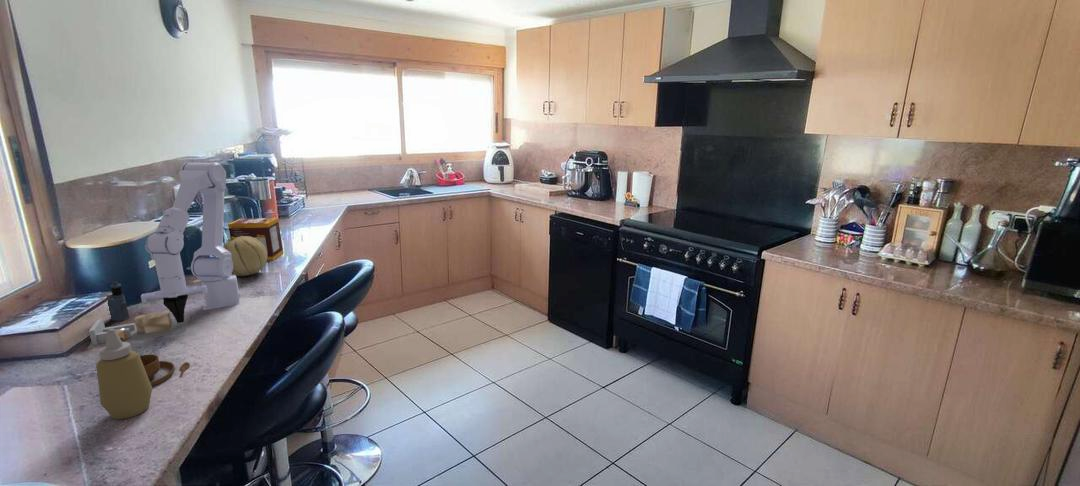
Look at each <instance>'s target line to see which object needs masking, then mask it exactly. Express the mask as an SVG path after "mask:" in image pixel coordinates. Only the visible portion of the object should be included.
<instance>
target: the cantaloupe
mask: <svg viewBox="0 0 1080 486" xmlns="http://www.w3.org/2000/svg"><path fill="white" fill-rule="evenodd" d="M229 239H230V240H228V241H226V242H225V243H224V244H223V248H225V249H226V250H227V251H229V252H230V253H231V258H232V262H233V271H232V273H231V275H236V276H238V277H246V276H251V275H255V274H257V273H258V272H259V271H261V270H262V269H263V268H264V267H265V265H266V264H267V261H268V260H267V251H266V248H265V246H264V245H263V244H262V243H261V242H260V241H259V240H257V239H256V238H253V237H250V236H240V237H236V238H234V237H231V238H230V237H229Z"/></svg>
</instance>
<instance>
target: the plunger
mask: <svg viewBox="0 0 1080 486" xmlns="http://www.w3.org/2000/svg"><path fill="white" fill-rule="evenodd" d="M115 331H116V333H117V334H118V336H119V338H124V339H125V340H126V333H125V328H118V329H116V330H115Z"/></svg>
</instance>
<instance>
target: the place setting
mask: <svg viewBox="0 0 1080 486" xmlns="http://www.w3.org/2000/svg"><path fill="white" fill-rule="evenodd" d="M120 339H121V341H122V342H125V339H124V338H120ZM139 356H140V358H141V361H142V363H143V366H144V368H145V371H146V373H147V376H148V379H149V381H150V380H151V379H152V378H154V377H155V375H156V374H157V373H158V372H159V371H160V369H161V368H163V369H167V370H169V372H168V373H166V374H165V375H163V376H161V377H160V378H157V379H154V380H152V381H150V384H151V386H152V387H155V386H157V385H159V384H162V383H163V382H165V381H166V380H169V378H171V377H172V375H173V374H174V373H175V369H176V368H175V364H174V363H172V361H171V362H170V361H166V360H160V358H159V356H158V355H156V354H151V353H150V354H142V355H141V354H140V355H139ZM190 366H191V365H190V363H189V362H184V363H182V364H181V365H180V367H179V369H180V371H181V373H180V375H179V379H180V378H183V375H184V372H185V371H186V370H188V369H189V368H190Z"/></svg>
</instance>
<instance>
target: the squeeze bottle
mask: <svg viewBox="0 0 1080 486" xmlns="http://www.w3.org/2000/svg"><path fill="white" fill-rule="evenodd" d="M99 356H100V359H99V360H98V361H97V362H96V374H97V384H98V391H99V393H98V394H99V401H100V405H101V406H102V407H103V409H104V410H105V411H106V412H107V413H108V415H110V417H111V418H113V419H115V420H123V419H129V418H132V417H135V416H138V415H140V414H142V413H143V412H145V411H146V410H148V408H149V407H150V404H151V397H152V394H153V393H152V392H153V386H151V384H150V382H151V381H150V380H149V379H148V376H147V373H146V371H145V368H144V366H143V363H142V361H141V358H140V356H141V355H140V354H139V352H136V351H134V350H132V345H131V342H122V341H121V339H120V338H119V336H118V334H117V333H116V331H115V329H109V330H107V333H106V346H102V347H101V348H100V349H99Z"/></svg>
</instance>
